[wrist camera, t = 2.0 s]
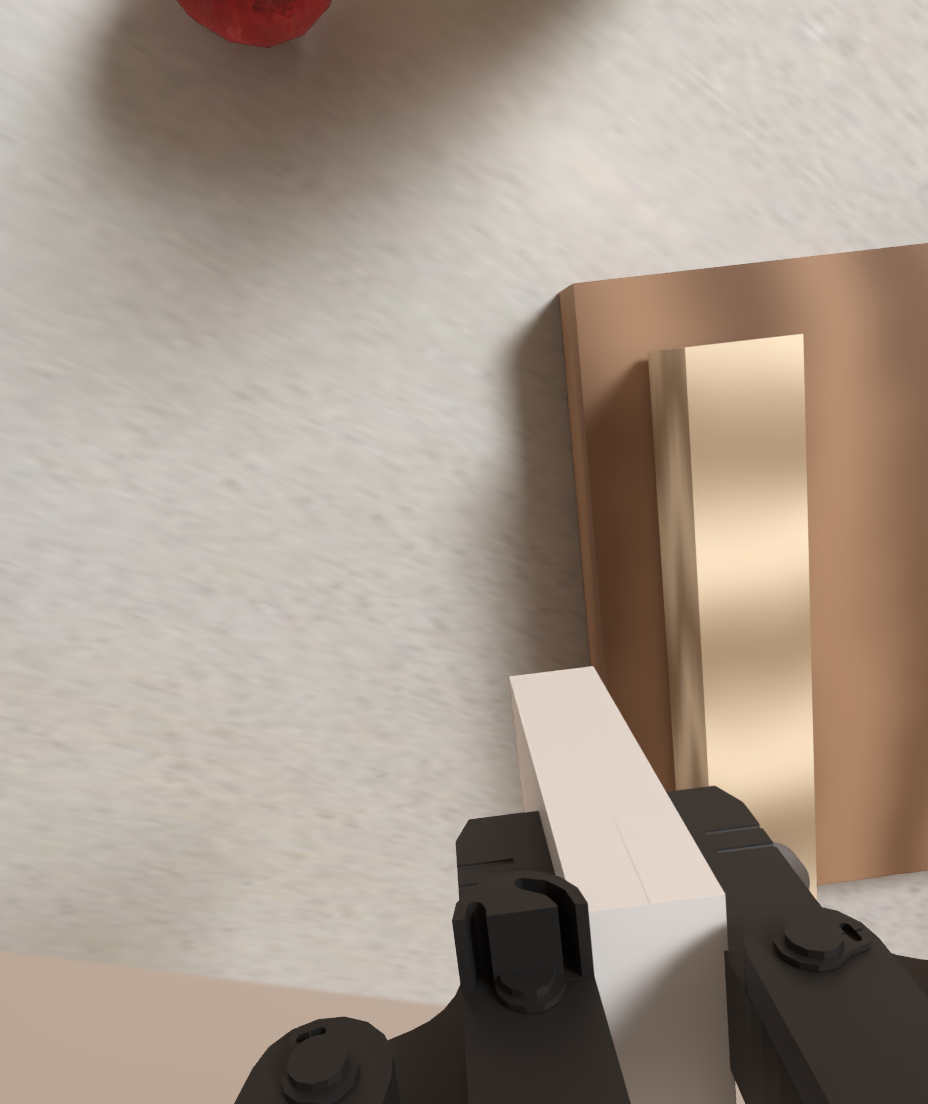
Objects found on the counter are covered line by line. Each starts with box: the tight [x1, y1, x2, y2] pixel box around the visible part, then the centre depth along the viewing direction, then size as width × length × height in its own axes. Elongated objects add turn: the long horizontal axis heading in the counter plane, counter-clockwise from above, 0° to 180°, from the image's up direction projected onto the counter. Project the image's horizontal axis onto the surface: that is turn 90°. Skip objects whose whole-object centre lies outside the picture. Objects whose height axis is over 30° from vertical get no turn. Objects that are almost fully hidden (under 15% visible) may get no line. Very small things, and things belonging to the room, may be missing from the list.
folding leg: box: [648, 334, 817, 900], centre depth 28 cm, size 19×4×5 cm, turn 6°
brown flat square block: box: [559, 243, 928, 885], centre depth 30 cm, size 24×24×6 cm
